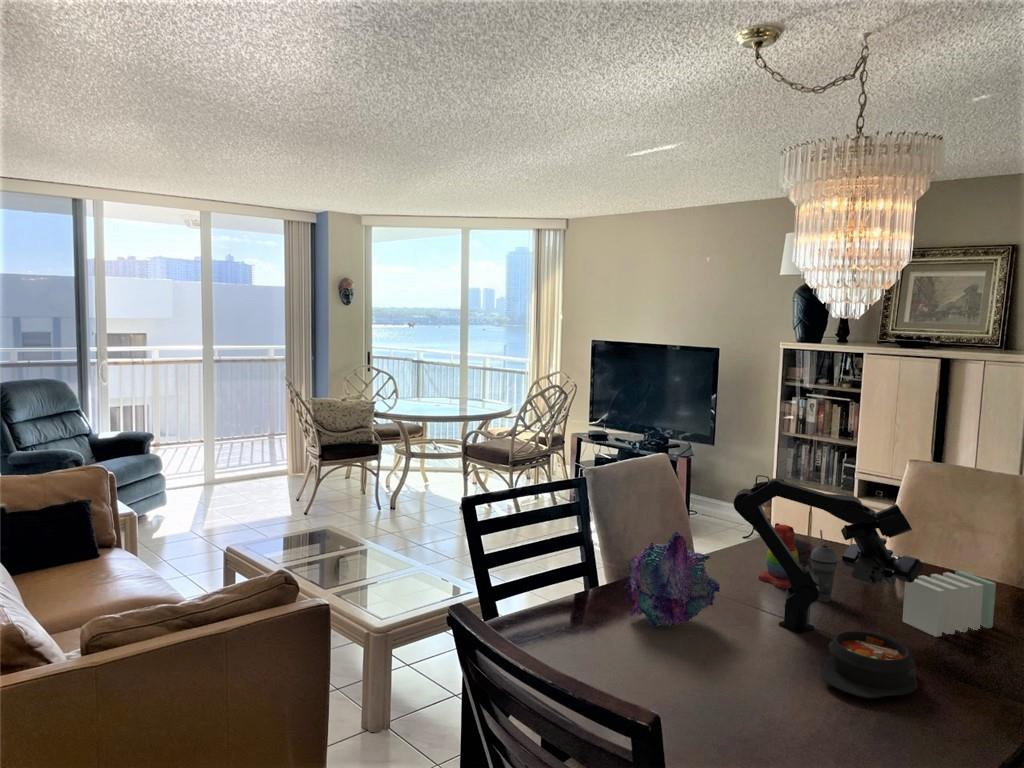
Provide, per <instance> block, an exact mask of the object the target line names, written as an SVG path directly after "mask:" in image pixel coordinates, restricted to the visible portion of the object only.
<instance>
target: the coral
mask: <svg viewBox="0 0 1024 768" xmlns="http://www.w3.org/2000/svg"><path fill="white" fill-rule="evenodd" d="M710 558H711V556H710V554H709V553H708V554H707V553H706V554H703V553H701V552H695V551H693V552H692V550H689V549H688V547H687V539H685V537H684V535H683V534H682V532H680V531H677V530H676V531H674V532H673V533H671V536H670V537H669V539H668V541H667V542H666V543H660V544H659V543H656V544H655V545H654V542H650V544H649V545H648V547H644V549H643V550H642V551H641V552H640V554H635V555H634V556H633V557H631V559H630V561H629V564H628V565H629V569H628V575H627V581H626V585H625V586H623V589H625V590H628V591H627V597H626V598H625V602H626V603H629V601H630V602H635V603H634V604H633V606H631V608H630V609H629V610H628V614H629V615H630V617H633V616H635V613H636V614H637V615H638V616H642V614H644V616H645V617H646V621H647V622H648V623H647V624H648V625H649V626H650V627H653V628H656V627H659V626H665V627H671V626H673V625H675V626H678V625H681V624H683V623H689V621H690V620H692V619H693V618H694V617H696V616H698V615H699V613H700V612H701V611H702V609H703V610H704V609H705V610H706V608H707V607H709V606H713V605H714V603H713V602H714V601H715V598H716V596H715V593H716V592H717V593H720V592H721V591H720V588H721V586H720V585H721V583H720V582H718V581H717V580H716V579H715V578H713V577H709V574H707V573H708V572H707V571H706V566H705V563H706V561H708V560H709V559H710ZM659 624H660V625H659Z"/></svg>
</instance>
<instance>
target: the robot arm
mask: <svg viewBox="0 0 1024 768" xmlns="http://www.w3.org/2000/svg"><path fill="white" fill-rule="evenodd" d="M776 497H778V498H783V499H786V500H790V501H793V502H796V503H800V504H802V505H805V506H810V507H813V508H817V509H819V510H821V511H824V512H827V513H829V514H830V515H832V516H833V517H836V518H837V519H839V520H841V521H843V522H846V523H848V524H849V525H847V524H845V525H844V526H843V527H842V528H841V530H840V532H841V534H842V536H843V539H844V540H845V541H848V540H851V539H853V540H854V542H855V543H850V545H849V546H848V547H847V549H846V550H845V551H844V553H843V554H842V556H841V557H842V559H841V560H842V562H843V564H844V565H845V566H846V567H849V568H853V570H852V573H851V576H852V578H853V579H855V580H856V581H858V582H859V583H861V584H865V585H868V586H871V587H873V586H875V585H877V584H878V583H882V582H883V580H884V581H885V582H886V583H887V584H889V585H890V586H895V585H896V583H897V579H898V580H899V581H901V582H904V583H905V582H909V583H911V582H913V581H914V580H915V579H917V578H918V576H919V574H920V572H921V571H922V569H923V567H924V565H923V564H922V562H921V560H920V558H916V557H912V556H908V555H902V557H901V558H900V559H899V557H898V556H895V555H893V554H894V551H893V550H891V549H888V548H887V547H886V544H887V542H888V541H887V539H886V538H889V539H891V538H892V539H893V538H894V537H897V536H900V535H902V534H905V533H907V532H908V533H909V532H911V531H912V530H913V529H912V527H911V525H910V523H909V521H908V519H907V518H906V515H905V514H904V513H903V512H902V510H901V508H900V506H899V505H898V504H893V505H891V506H889V507H887V508H885V509H882V510H879V511H877V512H876V511H875V510H874V509H872V508H870V507H868V506H866V505H864V503H862V501H861V500H860V499H859V498H858V497H856V496H854V495H847V494H837V493H836V494H835V493H833V494H832V493H831V494H830V493H824V492H821V491H818V490H816V489H815V490H814V489H810V488H807V487H804V486H800V485H797V484H793V483H791V482H787V481H783V480H781V479H779V478H777V477H776V478H771V479H769V480H768V481H766V482H763V483H761V484H758V485H755V486H754V487H752V488H750V489H749V488H742V489H740V490H739V491H738V492H737V493H736V495H735V496H734V499H733V508H734V510H735V512H736V513H738V515H740V516H741V518H743V519H744V520H745V521H746V522H747V523H749V525H750V526H752V527H753V528H754V529H755V530H756V532H757V534H758V535H759V536H760V538H761V539H762V541H763V542H764V543H765V546H767V548H768V549H770V551H771V552H772V554H773V555H774V556H775V558H776V559H777V561H778V562H779V564H780V565H781V566H782V568H783V569H784V571H785V572H786V574H787V577H788V579H789V582H790V584H791V586H790V587H789V588H787V589H785V603H784V613H783V615H784V616H783V617H784V618H783V620H782V621H778V625H779V626H781V627H783V628H785V629H788V630H790V631H793V632H795V633H797V634H803V633H805V632H808V631H811V630H813V629H815V625H812V624H810V616H811V604H813V603H815V602H816V601H818V600H817V599H818V597H819V584H818V577H817V576H816V575H815V574H814V573H813V572H812V567H810V566H811V565H810V564H807V565H806V566H805V567H804V566H803V565H802V564H801V563H800V562H799V563H798V562H797V560H796V559H795V557H794V556H793V555H792V553H791V552H790V550H789V549H788V547H787V546H786V545H785V543H784V542H783V540H782V539H781V538H780V536H779V535H778V533H777V532H776V530H775V529H774V526H773V525H772V523H771V522H770V520H769V519H768V518H767V515H766V513H765V511H764V509H763V505H764V504H765V503H767V502H769V501H770V500H772V499H773V498H776ZM877 529H878V530H879V532H880V533H878V531H877ZM880 535H882V536H883V537H884V536H885V537H886V538H882V537H881V536H880Z"/></svg>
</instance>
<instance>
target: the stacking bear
mask: <svg viewBox="0 0 1024 768" xmlns="http://www.w3.org/2000/svg"><path fill="white" fill-rule="evenodd" d="M773 528H774V529H775V530H776V532H777V533H778V535H779V536H780V538H781V539H782V540H783V542H784V543H785V545H786V546H787V547H788V549H789V550H790V552H791V553H792V555H793V556H794V557H795V559H796V560H797V562H798V563H799V564H800V560H799V559H800V558H799V552H798V549H797V547H796V545H795V544H794V541H795V537H796V535H795V531H794V530H795V529H794V528H793V526H790V525H787V524H780V523H779V522H776V523H775V524H774V526H773ZM765 561H766V566H767V571H763V572H760V573H759V574H758V580H760V581H762V580H763V582H766V581H767V583H770V584H772V585H773V586H774V587H775V586H776V587H775V588H778V589H785V590H786V588H789V587H790V586H791V584H790V582H789V579H788V577H787V574H786V572H785V571H784V569H783V568H782V566H781V565H780V564H779V562H778V561H777V559H776V558H775V556H774V555H773V554H772V552H771V551H770V549H769V548H768V549H767V553H766V559H765Z"/></svg>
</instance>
